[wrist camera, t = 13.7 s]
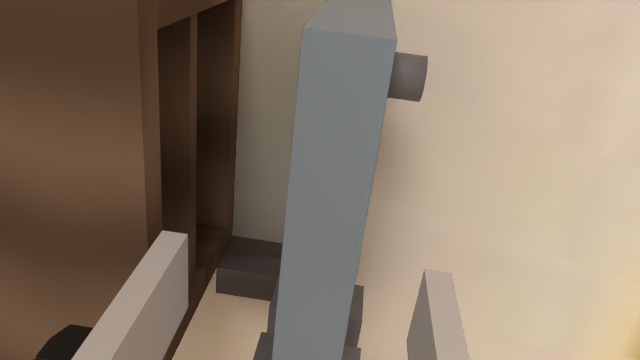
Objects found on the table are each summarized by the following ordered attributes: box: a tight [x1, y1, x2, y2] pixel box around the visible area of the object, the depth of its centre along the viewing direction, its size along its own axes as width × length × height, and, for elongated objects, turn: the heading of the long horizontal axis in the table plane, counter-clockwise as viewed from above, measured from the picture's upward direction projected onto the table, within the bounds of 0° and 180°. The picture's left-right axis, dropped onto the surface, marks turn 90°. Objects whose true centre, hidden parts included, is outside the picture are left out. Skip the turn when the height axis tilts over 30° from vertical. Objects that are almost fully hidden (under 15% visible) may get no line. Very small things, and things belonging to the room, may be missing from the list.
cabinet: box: [0, 0, 283, 360], centre depth 20 cm, size 17×16×12 cm
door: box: [253, 0, 428, 360], centre depth 22 cm, size 17×5×10 cm, turn 174°
